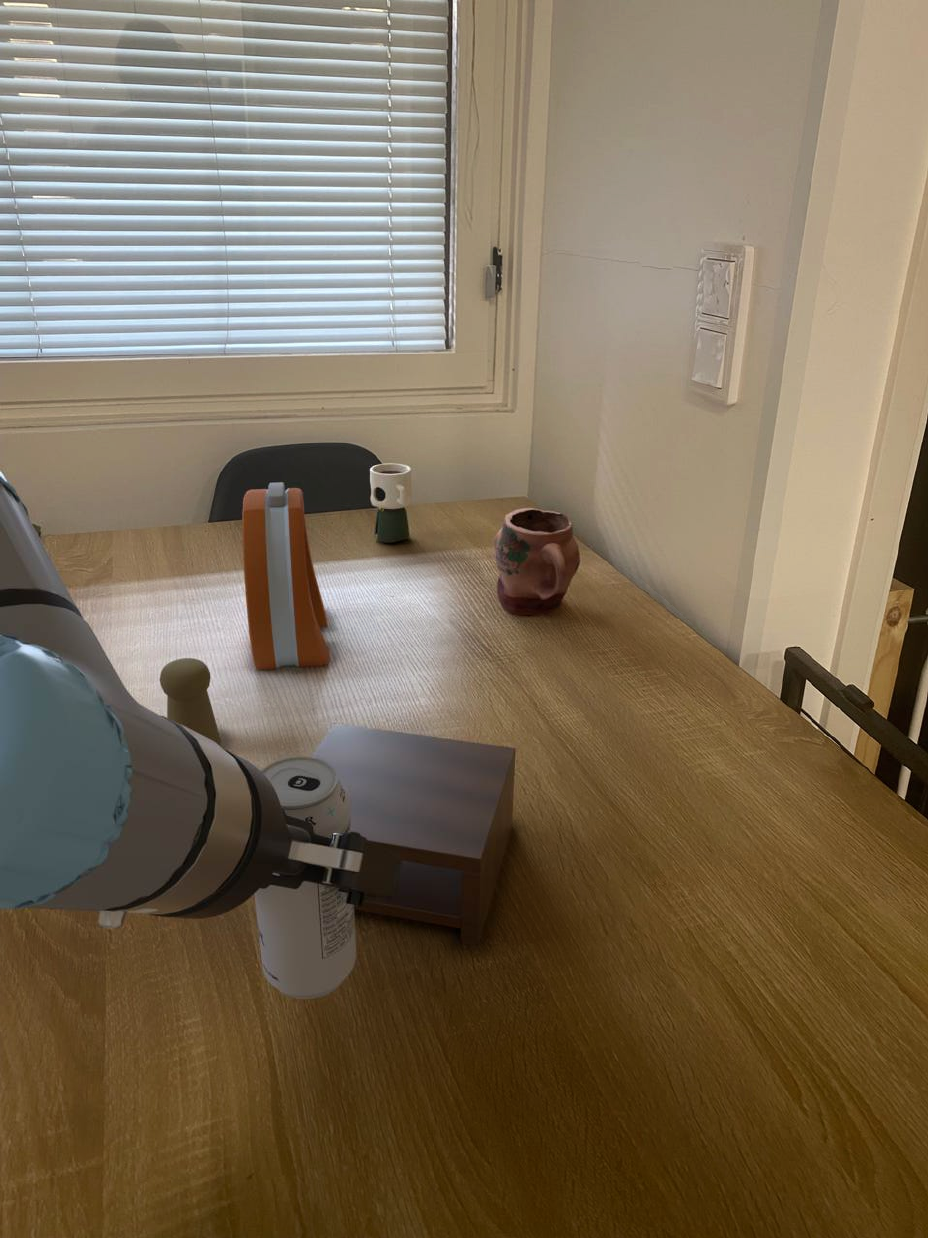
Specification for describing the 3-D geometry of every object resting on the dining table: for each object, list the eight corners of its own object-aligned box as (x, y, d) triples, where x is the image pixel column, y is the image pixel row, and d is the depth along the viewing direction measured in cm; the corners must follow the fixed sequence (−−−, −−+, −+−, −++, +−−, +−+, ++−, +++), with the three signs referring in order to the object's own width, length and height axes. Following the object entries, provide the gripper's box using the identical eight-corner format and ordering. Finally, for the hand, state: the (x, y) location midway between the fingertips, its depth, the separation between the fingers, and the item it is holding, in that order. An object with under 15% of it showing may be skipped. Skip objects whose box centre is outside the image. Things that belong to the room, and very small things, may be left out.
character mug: (361, 532, 165) (359, 463, 159) (397, 527, 168) (396, 458, 162) (386, 552, 156) (384, 479, 151) (423, 546, 159) (422, 474, 154)
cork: (220, 732, 105) (210, 647, 100) (225, 761, 100) (214, 673, 95) (165, 740, 103) (153, 655, 98) (167, 770, 98) (154, 681, 93)
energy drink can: (289, 926, 63) (273, 743, 56) (370, 946, 61) (364, 761, 55) (246, 993, 57) (223, 800, 51) (333, 1017, 56) (321, 822, 49)
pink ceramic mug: (603, 629, 131) (611, 538, 125) (526, 642, 127) (531, 549, 121) (541, 577, 148) (546, 495, 141) (472, 587, 143) (473, 503, 137)
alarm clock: (333, 681, 116) (323, 512, 106) (254, 686, 114) (237, 516, 105) (327, 608, 136) (319, 460, 126) (260, 612, 134) (246, 462, 124)
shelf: (478, 954, 75) (480, 859, 71) (275, 916, 79) (266, 824, 75) (511, 833, 90) (515, 747, 85) (338, 805, 93) (334, 722, 89)
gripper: (-53, 876, 39) (179, 901, 61) (367, 958, 36) (456, 954, 57) (4, 708, 42) (208, 790, 63) (404, 769, 38) (475, 833, 60)
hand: (325, 868), depth 60 cm, fingers closed on energy drink can, 6 cm apart
